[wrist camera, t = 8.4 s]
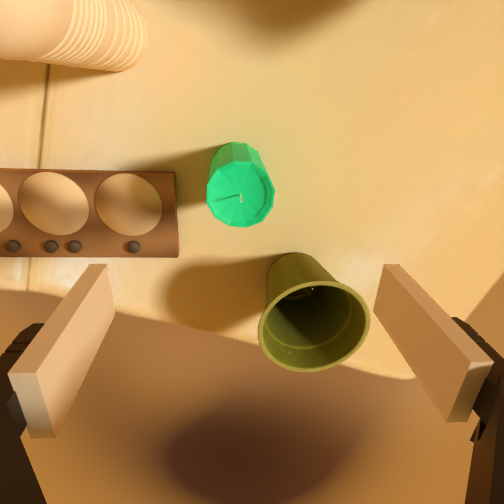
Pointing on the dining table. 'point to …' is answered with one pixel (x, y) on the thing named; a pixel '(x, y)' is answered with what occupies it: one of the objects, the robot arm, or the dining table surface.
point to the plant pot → (310, 316)
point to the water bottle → (73, 33)
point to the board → (87, 213)
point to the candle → (239, 186)
